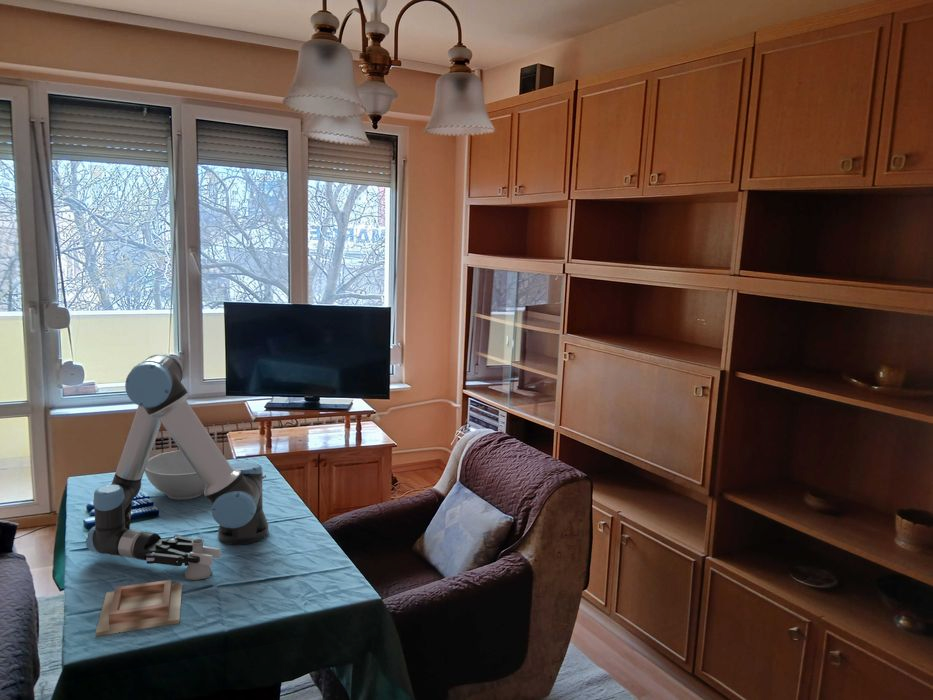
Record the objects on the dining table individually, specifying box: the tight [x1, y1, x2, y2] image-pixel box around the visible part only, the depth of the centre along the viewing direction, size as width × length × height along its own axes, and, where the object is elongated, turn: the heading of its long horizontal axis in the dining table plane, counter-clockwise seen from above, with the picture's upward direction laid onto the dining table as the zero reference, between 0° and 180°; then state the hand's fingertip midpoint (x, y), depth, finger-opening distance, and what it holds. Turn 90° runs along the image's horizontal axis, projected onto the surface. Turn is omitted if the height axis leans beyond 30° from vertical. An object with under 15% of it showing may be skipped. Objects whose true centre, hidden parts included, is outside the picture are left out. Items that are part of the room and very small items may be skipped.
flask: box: [184, 538, 213, 581], centre depth 181 cm, size 7×7×10 cm
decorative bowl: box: [144, 449, 205, 501], centre depth 234 cm, size 27×27×12 cm
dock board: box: [95, 579, 183, 637], centre depth 164 cm, size 18×18×4 cm
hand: (215, 556), depth 179 cm, fingers closed on flask, 3 cm apart
